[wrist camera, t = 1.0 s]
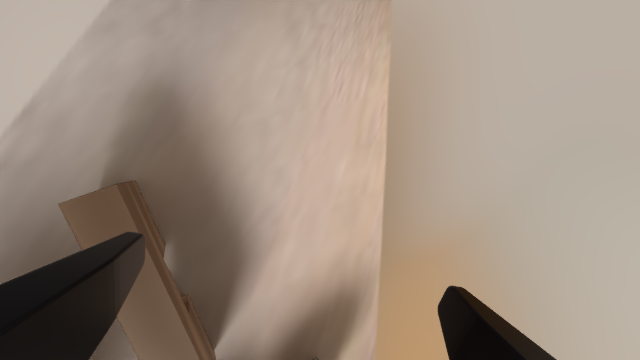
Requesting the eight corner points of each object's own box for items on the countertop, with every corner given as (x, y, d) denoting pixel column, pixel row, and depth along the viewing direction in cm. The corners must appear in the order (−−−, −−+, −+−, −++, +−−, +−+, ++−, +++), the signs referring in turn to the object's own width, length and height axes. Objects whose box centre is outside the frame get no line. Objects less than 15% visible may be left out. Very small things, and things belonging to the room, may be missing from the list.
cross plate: (183, 369, 19) (184, 447, 14) (96, 193, 17) (58, 204, 12) (214, 350, 20) (227, 417, 14) (135, 180, 18) (115, 184, 12)
